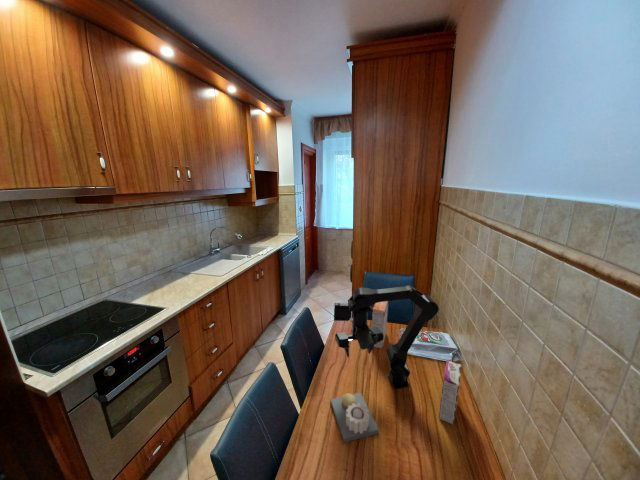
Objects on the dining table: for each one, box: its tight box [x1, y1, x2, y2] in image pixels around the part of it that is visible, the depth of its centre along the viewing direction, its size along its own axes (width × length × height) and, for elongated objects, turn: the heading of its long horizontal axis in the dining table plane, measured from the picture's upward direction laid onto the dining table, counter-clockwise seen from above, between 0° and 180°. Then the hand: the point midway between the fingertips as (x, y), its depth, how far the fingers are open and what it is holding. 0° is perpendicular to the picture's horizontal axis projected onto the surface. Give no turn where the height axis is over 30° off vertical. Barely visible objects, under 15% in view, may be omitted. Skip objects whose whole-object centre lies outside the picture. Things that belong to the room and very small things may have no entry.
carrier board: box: [330, 392, 380, 443], centre depth 86 cm, size 12×15×6 cm
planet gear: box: [346, 403, 369, 434], centre depth 82 cm, size 8×8×4 cm
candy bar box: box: [438, 359, 462, 426], centre depth 87 cm, size 11×5×16 cm, turn 148°
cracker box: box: [371, 301, 389, 350], centre depth 126 cm, size 14×6×21 cm, turn 157°
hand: (358, 354), depth 100 cm, fingers open, 9 cm apart
